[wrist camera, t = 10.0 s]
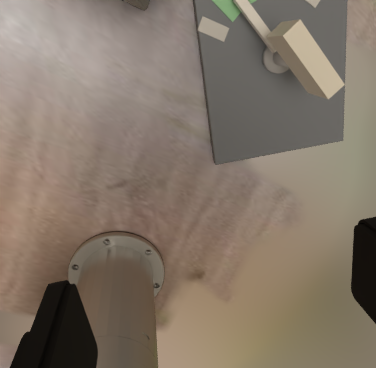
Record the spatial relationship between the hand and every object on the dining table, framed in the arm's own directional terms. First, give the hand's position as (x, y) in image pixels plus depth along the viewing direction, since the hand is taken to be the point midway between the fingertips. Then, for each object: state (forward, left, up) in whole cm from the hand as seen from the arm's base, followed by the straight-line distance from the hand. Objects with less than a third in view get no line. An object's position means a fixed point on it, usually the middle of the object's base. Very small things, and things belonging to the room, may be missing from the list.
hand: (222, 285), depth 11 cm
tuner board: (+4, -13, -30) cm, 33 cm away
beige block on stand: (+6, -12, -29) cm, 32 cm away
